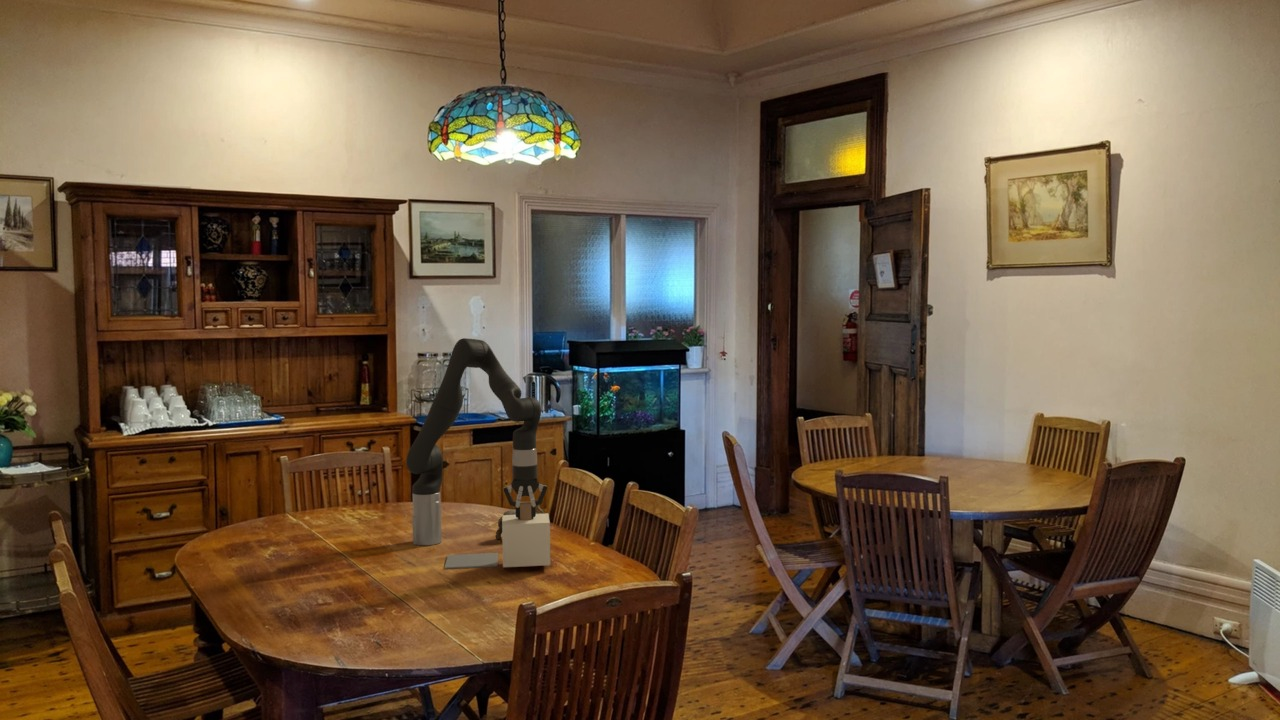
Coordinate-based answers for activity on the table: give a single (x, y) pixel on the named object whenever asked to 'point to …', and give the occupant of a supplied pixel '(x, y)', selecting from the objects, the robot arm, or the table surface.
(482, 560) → the mat
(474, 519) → the table surface
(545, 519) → the cover
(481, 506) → the table surface
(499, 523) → the figurine
